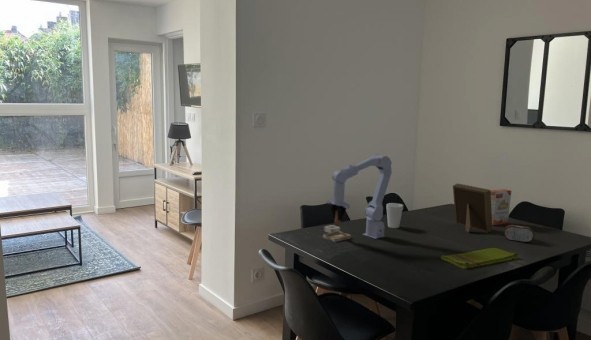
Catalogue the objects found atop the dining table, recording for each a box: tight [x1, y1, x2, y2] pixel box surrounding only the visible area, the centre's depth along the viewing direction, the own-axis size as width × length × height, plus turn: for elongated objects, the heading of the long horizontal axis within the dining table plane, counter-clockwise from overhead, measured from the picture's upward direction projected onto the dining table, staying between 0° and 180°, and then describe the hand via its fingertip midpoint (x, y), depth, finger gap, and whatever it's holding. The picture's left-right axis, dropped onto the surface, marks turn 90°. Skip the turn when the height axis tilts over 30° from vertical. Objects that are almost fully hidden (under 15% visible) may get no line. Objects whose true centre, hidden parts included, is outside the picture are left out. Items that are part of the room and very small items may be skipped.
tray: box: [322, 231, 353, 243], centre depth 249 cm, size 10×12×2 cm
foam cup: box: [385, 202, 404, 229], centre depth 274 cm, size 10×9×13 cm
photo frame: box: [452, 183, 493, 234], centre depth 273 cm, size 15×22×25 cm
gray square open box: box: [323, 224, 342, 233], centre depth 260 cm, size 6×6×3 cm
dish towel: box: [440, 247, 519, 270], centre depth 223 cm, size 15×36×3 cm, turn 117°
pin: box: [334, 210, 342, 227], centre depth 248 cm, size 3×3×8 cm
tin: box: [503, 224, 536, 243], centre depth 253 cm, size 15×3×8 cm, turn 65°
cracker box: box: [489, 188, 512, 227], centre depth 287 cm, size 14×6×21 cm, turn 120°
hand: (337, 219), depth 248 cm, fingers closed on pin, 3 cm apart
